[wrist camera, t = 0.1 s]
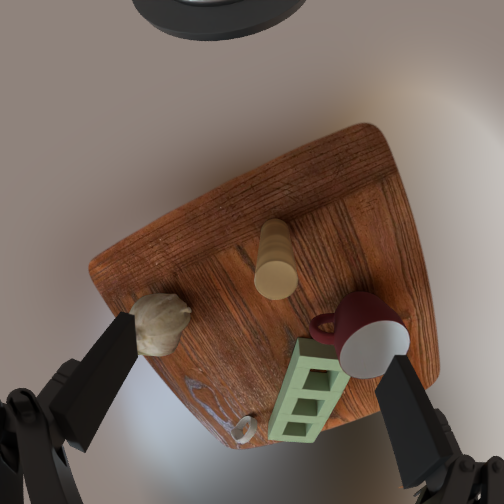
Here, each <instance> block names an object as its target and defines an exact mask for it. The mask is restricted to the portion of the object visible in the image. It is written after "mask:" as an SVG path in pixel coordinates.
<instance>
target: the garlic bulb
mask: <svg viewBox="0 0 504 504" xmlns="http://www.w3.org/2000/svg"><path fill="white" fill-rule="evenodd" d="M191 311H192V310H191V309H190V307H187V304H186V303H184V302H183V301H182V300H181V299H180V298H179V297H178V296H177V295H176V294H164V293H157V294H151V295H146V296H143V297H141V298H140V299H139V300H138V301H137V302H136V303H135V304H134V305H133V307H132V309H131V311H130V312H129V314H132V315H135V328H136V340H137V351H138V355H149V356H165V355H169V354H171V353H173V352H174V351H175V349H176V347H177V345H178V343H179V341H180V337H181V332H182V330H183V329H184V328H185V327H186V326H187V325H188V323H189V321H190V313H191Z"/></svg>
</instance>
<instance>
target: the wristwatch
mask: <svg viewBox="0 0 504 504" xmlns="http://www.w3.org/2000/svg"><path fill="white" fill-rule="evenodd" d="M248 421H249V424H250V427H249V429H248V431H247V432H246V433H245V435H244V434H243V433H242V432H243V430H242V428H243V427H244V426H245V424H246V423H247V422H248ZM238 425H239V426H238ZM240 426H241V427H240ZM236 428H237V429H236ZM240 430H241V431H240ZM256 430H257V420H256V419H254V418H252V417H250V416H245V417H243V418H242V419H241V420H240V421H239V422H238V424H237V426H236V427H235V428H234V429H232V431H231V435H232V437H233V438H234V439H235V440H236V441H238V442H240V443H242V444H244V443H246V442H248V441H249V440H250V439H251V438H252V437H253V435H254V434H255V432H256Z"/></svg>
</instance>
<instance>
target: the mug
mask: <svg viewBox="0 0 504 504" xmlns="http://www.w3.org/2000/svg"><path fill="white" fill-rule="evenodd" d="M329 322H334V333H327V332H323V331H321V330H320V329H319V328H318V326H319V325H321V324H324V323H329ZM309 331H310V334H311V336H312V337H313V339H314V340H316V341H317V342H319V343H321V344H325V345H334V347H335V351H336V354H337V358H338V361H339V364H340V366H341V368H342V370H343V371H344V372H345V373H346V374H347V375H349V376H351V377H353V378H357V379H371V378H376V377H379V376H381V375H384V374H385V372H386V370H387V368H388V366H389V364H390V363H391V361H392V359H393V357H394V355H406V354H407V352H408V349H409V346H410V335H409V332H408V330H407V328H406V326H405V324H404V323H403V321H402V320H401V318H400V317H399V316H398V314H397V313H396V312H395V311H394V310H393V309H392V308H390V307H389V306H388V305H387V304H386V303H385V302H383V301H382V300H381V299H380V298H379V297H377V296H376V295H374V294H372V293H369V292H362V291H356V292H352V293H349V294H348V295H346V296H345V297H344V298H343V299H342V301H341V302H340V304H339V305H338V307H337V309H336V311H335V313H327V314H320V315H318V316H316V317H314V318H313V319H312V321H311V323H310V326H309Z"/></svg>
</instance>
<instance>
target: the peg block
mask: <svg viewBox="0 0 504 504" xmlns="http://www.w3.org/2000/svg"><path fill="white" fill-rule="evenodd" d="M310 368H312V369H321V370H328V371H327V373H319V372H309V371H310ZM350 377H351V376H349V375H347V374H346V373H345V372H344V371H343V370H342V368H341V366H340V364H339V361H338V358H337V354H336V351H335V347H334V345H325V344H321V343H319V342H317V341H316V340H314V339H307V338H299V337H298V339H297V342H296V345H295V349H294V351H293V354H292V357H291V360H290V363H289V366H288V369H287V372H286V375H285V378H284V381H283V384H282V387H281V390H280V393H279V395H278V398H277V401H276V404H275V406H274V409H273V412H272V414H271V417H270V420H269V423H268V440H278V441H292V442H308V443H313V442H314V441H315V439H316V437H317V436H318V434H319V433H320V431H321V429H322V428H323V426H324V424H325V423H326V421H327V419H328V418H329V416H330V414H331V412H332V410H333V409H334V407H335V405H336V403H337V402H338V400H339V398H340V396H341V394H342V392H343V390H344V388H345V387H346V385H347V383H348V381H349V379H350Z"/></svg>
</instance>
